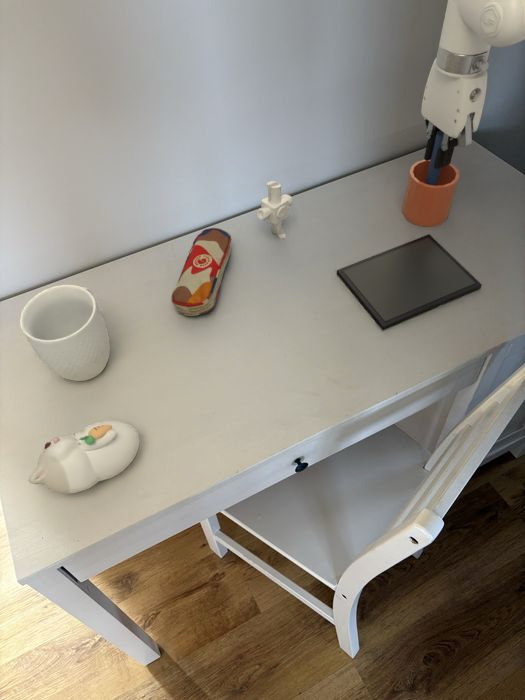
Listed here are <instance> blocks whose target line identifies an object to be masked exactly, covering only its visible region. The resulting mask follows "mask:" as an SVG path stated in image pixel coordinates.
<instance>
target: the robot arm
mask: <svg viewBox="0 0 525 700" xmlns="http://www.w3.org/2000/svg"><path fill="white" fill-rule="evenodd" d="M441 28H442V29H441V33H440V39H439V43H438V49H437V51H436V52H437V53H436V57H435V59H434V61H433V63H432V66H431V68H430V71H429V74H428V77H427V79H426V84H425V87H424V92H423V95H422V101H421V109H420V115H421V116H422V118H423V120H424V121H425V127H426V133H425V136H426V138H427V142H426V147H425V152H424V156H423V160H424V159H425V160H426V161H428V160H431V156H432V152H433V147H434V143H435V139H436V134H437V132H438V131H441V130H442V131H443V132H444V136H443V140H442V145H441V147H440V148H438V150H437V155H436V159H435V163H434V168H435V169H439V168H442V167H444V166H447V165H449V164H450V163H452V158H453V154H454V152H455V151H454V150H455V148H456V147H460V148H466V147H469V146H471V145H472V142H473V139H472V137H473V136H472V133H475V132H477V131H478V128H479V126H480V122H481V119H482V114H483V110H484V106H485V102H486V101H485V100H486V94H487V88H488V71H487V70H488V69H489V67H490V63H489V62H488V58H489V56H490V51H491V49H492V47H495V48H505V47H509V46H512V45H515V44H517V43H520V42H523V41H525V0H447V3H446V9H445V14H444V19H443V24H442V27H441ZM451 138H452V139H451Z"/></svg>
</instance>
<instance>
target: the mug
mask: <svg viewBox="0 0 525 700" xmlns="http://www.w3.org/2000/svg"><path fill="white" fill-rule="evenodd" d="M97 303H98V302H97V301H96V299H95V297H94V294H93V293H92V291H91V290H90V289H89V288H88V287H85V286H84V287H83V286H79V285H74V284H60V285H56V286H51V287H49V288H46V289H45V290H42V291H40V292H39V293H37V294H36V295H34V296H33V297H32V298H31V299H30V300H29V301H28V302H27V303H26V304H25V305H24V307H23V308H22V311H21V313H20V317H19V326H20V329H21V331H22V333H23V335H24V336H25V338H26V340H27V342H28V343H29V345H30V346H31V348H32V349H33V351H34V352H35V354H36V355H37V356H38V358H39V360H41V362H42V363H43V364H44V365H45V366H46V367H47V368H49V369H50V370H51V371H52V372H54V373H55V374H56V375H58V376H59V377H61V378H64V379H65V380H69V381H75V382H82V381H83V382H85V381H89V380H91V379H94V378H95V377H97V376H98V375H100V374H101V373H102V372H103V370H104V369H105V368H106V366H107V364H108V361H109V357H110V352H111V349H110V348H111V345H110V343H111V342H110V336H109V331H108V329H107V324H106V322H105V319H104V317H103V313H102V312H101V310H100V307H99V305H98V304H97Z"/></svg>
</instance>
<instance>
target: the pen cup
mask: <svg viewBox="0 0 525 700" xmlns="http://www.w3.org/2000/svg"><path fill="white" fill-rule="evenodd" d="M429 165H430V160H428V161H426V160H425V159H424V158H423V159H421V160H418V161H416V162H414V163H413V164H412V165H411V166H410V169H409V171H408V172H409V173H408V178H407V184H406V188H405V194H404V198H403V205H402V215H403V217H404V218H405V219H406V220H407V221H408V222H410V223H412V224H413V225H415V226H420V227H429V228H430V227H437V226H440V225H442V224H443V223H444V222H446V220H447V219H448V217H449V215H450V211H451V208H452V204H453V201H454V196H455V193H456V190H457V186H458V182H459V180H460V179H459V178H460V172H459V169H458V168H457V167H456V166H455V165H454V164H452V162H450V164H449V165H447V166H444V167H442V168H441V172H440V176H439V180H438V184H437V186H434V185H428V184H425V182H426V178H427V174H428V169H429Z"/></svg>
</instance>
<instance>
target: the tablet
mask: <svg viewBox="0 0 525 700" xmlns="http://www.w3.org/2000/svg"><path fill="white" fill-rule="evenodd" d="M336 275H337V276H338V277H339V279H340V280H341V281H342V282H343V284H344V285H345V286H346V288H347V289H348V290H349V291H350V292H351V294H352V295H353V296H354V297H355V299H356V300H357V301H358V302H359V303H360V305H361V306H362V307H363V308H364V309H365V311H366V312H367V313H368V315H369V316H370V317H371V319H373V320H374V322H375V323H376V325H378V327H379V328H380V329H381V330H382V331H385V330H388V329H390V328H392V327H395V326H397V325H399V324H402V323H404V322H406V321H408V320H411V319H413V318H416V317H418V316H421V315H423V314H426V313H428V312H430V311H432V310H435V309H437V308H439V307H441V306H444V305H446V304H449V303H450V302H454V301H455V300H458V299H461V298H462V297H465V296H466V295H469V294H471V293H475V292H476V291H478V290H481V288H482V286H483V284H482V283H481V282H480V281H479V280H478V279H477V278H476V277H475V276H474V275H473V274H472V273H470V271H468V270H467V269H466V268H465V267H464V266H463V265H462V264H461V263H460V262H459V261H458V260H457V259H456V258H455V257H454V256H452V255H451V254H450V252H449V251H447V250H446V248H445V247H443V246H442V244H441V243H439V242H438V241H437V240H436V239H435V238H434V237H433V236H432V235H431V234H430V233H428V234H425V235H423V236H421V237H418V238H416V239H413V240H410V241H408V242H405V243H402V244H400V245H398V246H395V247H393V248H390V249H388V250H384V251H382V252H380V253H376V254H375V255H372V256H370V257H367V258H364V259H362V260H359V261H357V262H354V263H352V264H349V265H347V266H344V267H342V268H339V269H337V270H336Z"/></svg>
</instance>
